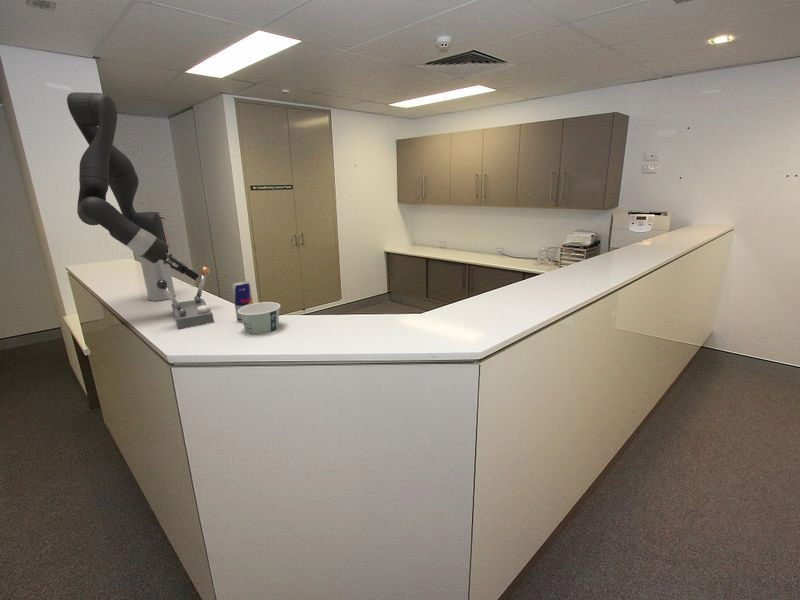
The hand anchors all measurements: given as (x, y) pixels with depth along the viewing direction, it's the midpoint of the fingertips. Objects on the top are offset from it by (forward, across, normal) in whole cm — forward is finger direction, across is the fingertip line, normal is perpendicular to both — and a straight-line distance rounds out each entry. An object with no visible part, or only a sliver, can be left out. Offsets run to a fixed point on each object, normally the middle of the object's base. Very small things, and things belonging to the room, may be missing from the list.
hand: (196, 277), depth 139 cm
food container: (+17, -33, 0) cm, 37 cm away
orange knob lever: (+5, 0, +6) cm, 8 cm away
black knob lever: (0, -13, +10) cm, 17 cm away
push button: (+6, -14, +7) cm, 16 cm away
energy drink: (+16, -21, +1) cm, 26 cm away
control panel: (+6, -6, +11) cm, 14 cm away
